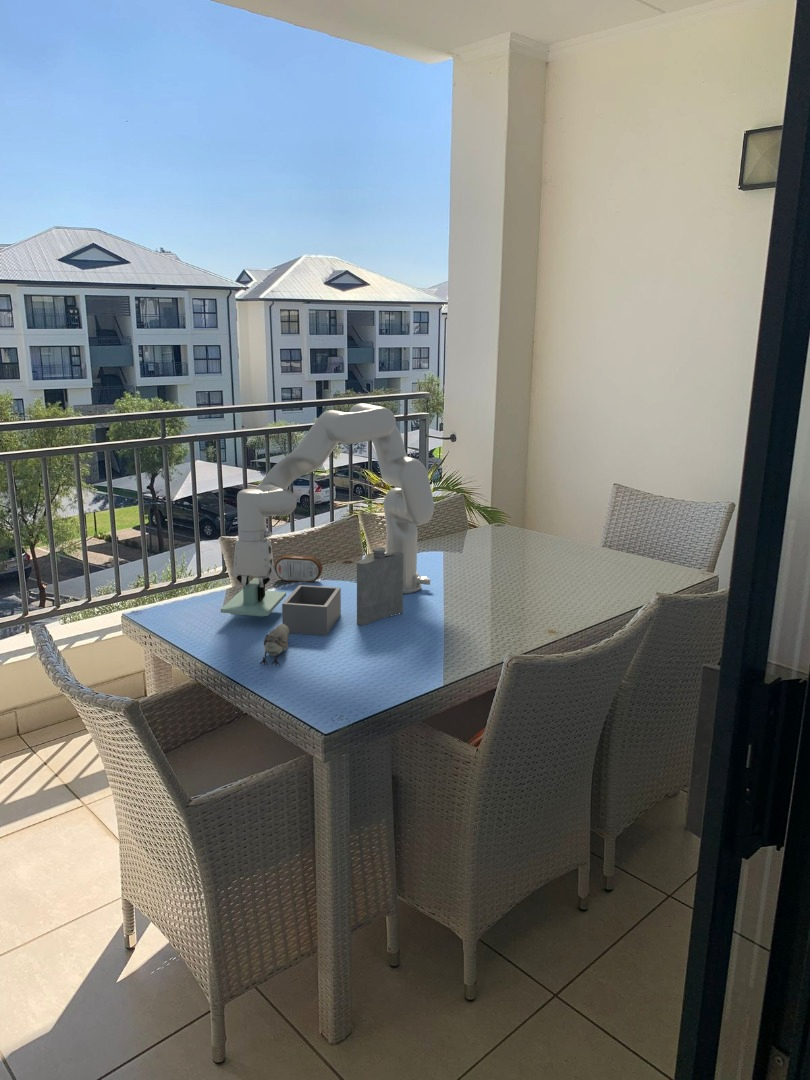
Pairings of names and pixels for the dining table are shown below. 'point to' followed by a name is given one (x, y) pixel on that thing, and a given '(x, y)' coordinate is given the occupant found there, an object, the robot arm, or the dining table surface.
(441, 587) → the dining table surface
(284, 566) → the tin
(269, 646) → the decorative bird
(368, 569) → the hip flask
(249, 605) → the lid
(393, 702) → the dining table surface
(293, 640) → the dining table surface
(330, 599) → the tub
